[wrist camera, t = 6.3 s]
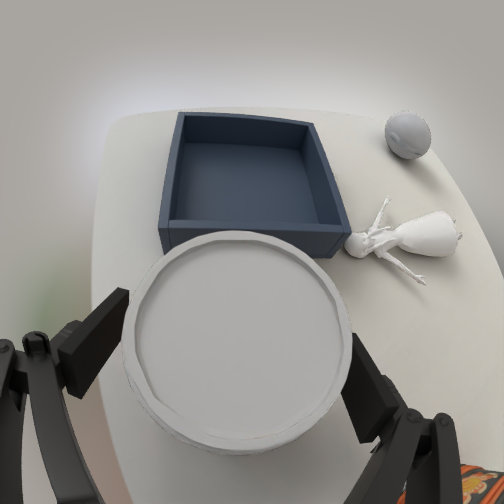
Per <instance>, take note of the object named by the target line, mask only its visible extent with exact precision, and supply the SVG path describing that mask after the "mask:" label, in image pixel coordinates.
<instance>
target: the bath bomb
mask: <svg viewBox="0 0 504 504" xmlns="http://www.w3.org/2000/svg"><path fill="white" fill-rule="evenodd" d="M385 138H386V142H387V144H388V146H389V147H390V149H391V150H392V151H393V152H394V153H395V154H397V155H398V156H400V157H402V158H405V159H417V158H419V157H421V156H423V155H424V154H425V153H426V152H427V151H428V149H429V147H430V144H431V132H430V129H429V127H428V125H427V123H426V122H425V120H424V119H423V118H421V117H420V116H419V115H417V114H416V113H413V112H409V111H401V112H397V113H395V114H394V115H392V116H391V117H390V119H389V120H388V121H387V124H386V126H385Z"/></svg>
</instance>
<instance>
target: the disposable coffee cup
mask: <svg viewBox="0 0 504 504" xmlns="http://www.w3.org/2000/svg"><path fill="white" fill-rule="evenodd" d="M121 339H122V353H123V364H124V367H125V370H126V373H127V377H128V380H129V383H130V386H131V388H132V390H133V391H134V393H135V395H136V397H137V398H138V400H139V402H140V404H141V405H142V407H143V408H144V409H145V410H146V412H147V413H148V414H149V415H150V416H151V417H152V418H153V419H154V420H155V422H156V423H157V424H159V425H160V426H161V427H162V428H164V429H165V430H166V431H167V432H169V433H170V434H171V435H173V436H174V437H176V438H178V439H180V440H182V441H184V442H186V443H187V444H189V445H191V446H193V447H196V448H199V449H202V450H205V451H208V452H214V453H220V454H226V455H251V454H256V453H261V452H266V451H270V450H273V449H276V448H278V447H281V446H283V445H286V444H288V443H290V442H292V441H295V440H296V439H297V438H299V437H300V436H301V435H303V434H304V433H306V432H307V431H308V430H310V429H311V428H312V427H314V426H315V425H316V424H317V423H318V422H319V420H320V419H321V418H322V417H323V416H324V415H325V414H326V413H327V412H328V411H329V409H330V408H331V406H332V405H333V403H334V402H335V400H336V399H337V397H338V396H339V394H340V392H341V390H342V388H343V386H344V384H345V381H346V379H347V375H348V371H349V367H350V363H351V359H352V330H351V323H350V319H349V316H348V312H347V308H346V306H345V303H344V301H343V299H342V297H341V294H340V292H339V291H338V289H337V288H336V286H335V285H334V283H333V281H332V280H331V278H330V277H329V276H328V275H327V274H326V272H325V271H324V270H323V269H322V268H321V267H320V266H319V265H318V264H317V263H316V262H314V261H313V260H312V259H311V258H310V257H309V256H308V255H307V254H306V253H304V252H302V251H301V250H299V249H298V248H296V247H294V246H293V245H291V244H289V243H287V242H284V241H282V240H280V239H278V238H275V237H273V236H268V235H264V234H259V233H255V232H250V231H233V230H232V231H221V232H214V233H210V234H206V235H202V236H197V237H195V238H193V239H191V240H189V241H187V242H185V243H183V244H180V245H178V246H176V247H174V248H173V249H172V250H171V251H169V252H168V253H167V254H166V255H164V256H163V257H162V258H161V259H160V260H158V261H157V262H156V263H155V264H154V265H152V266H151V268H150V269H149V271H148V272H147V274H146V275H145V277H144V278H143V280H142V281H141V283H140V284H139V286H138V287H137V289H136V290H135V292H134V294H133V297H132V299H131V301H130V304H129V306H128V308H127V311H126V314H125V319H124V325H123V331H122V337H121Z"/></svg>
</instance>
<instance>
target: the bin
mask: <svg viewBox="0 0 504 504" xmlns="http://www.w3.org/2000/svg"><path fill="white" fill-rule="evenodd" d="M232 230H233V231H250V232H255V233H259V234H264V235H268V236H273V237H275V238H278V239H280V240H282V241H284V242H287V243H289V244H291V245H293V246H294V247H296V248H298V249H299V250H301V251H302V252H304V253H306V254H307V255H308V256H309V257H310V258H332V257H333V255H334V254H335V253H336V252H337V251H338V249H339V248H340V247H341V246H342V245H343V244H344V242H345V241H346V240H347V239H348V238H349V236H350V235H351V234H352V231H351V227H350V224H349V221H348V218H347V214H346V211H345V208H344V205H343V202H342V199H341V196H340V193H339V190H338V187H337V184H336V181H335V178H334V176H333V173H332V170H331V167H330V165H329V162H328V159H327V157H326V154H325V152H324V149H323V146H322V144H321V141H320V139H319V136H318V134H317V132H316V129H315V127H314V124H313V123H309V122H303V121H297V120H290V119H282V118H274V117H266V116H256V115H244V114H230V113H210V112H186V113H185V112H178V116H177V121H176V125H175V130H174V134H173V139H172V144H171V149H170V154H169V159H168V164H167V170H166V175H165V181H164V187H163V194H162V200H161V207H160V215H159V222H158V231H159V236H160V240H161V244H162V248H163V253H164V255H166V254H167V253H168V252H169V251H171V250H172V249H173V248H174V247H176V246H178V245H180V244H183V243H185V242H187V241H189V240H191V239H193V238H195V237H197V236H202V235H206V234H210V233H214V232H221V231H232Z"/></svg>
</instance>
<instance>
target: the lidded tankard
mask: <svg viewBox="0 0 504 504" xmlns="http://www.w3.org/2000/svg"><path fill="white" fill-rule="evenodd" d="M460 465H461V475H462V489H463V504H504V472H496V471H488V470H484V469H483V468H482V467H479V466H470V465H465V464H460ZM405 493H406V491H405V492H404V493H403V494H402V495H401V496H400V497H399V499H398V502H397V504H404V502H405Z"/></svg>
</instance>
